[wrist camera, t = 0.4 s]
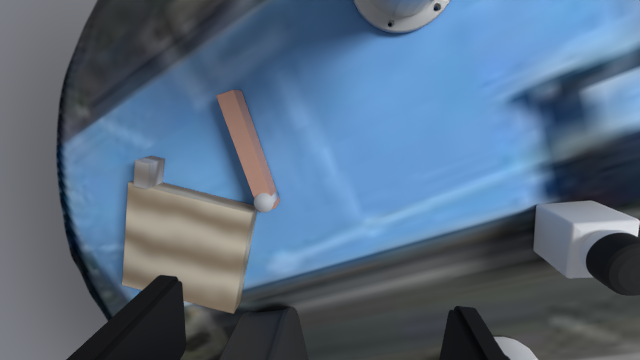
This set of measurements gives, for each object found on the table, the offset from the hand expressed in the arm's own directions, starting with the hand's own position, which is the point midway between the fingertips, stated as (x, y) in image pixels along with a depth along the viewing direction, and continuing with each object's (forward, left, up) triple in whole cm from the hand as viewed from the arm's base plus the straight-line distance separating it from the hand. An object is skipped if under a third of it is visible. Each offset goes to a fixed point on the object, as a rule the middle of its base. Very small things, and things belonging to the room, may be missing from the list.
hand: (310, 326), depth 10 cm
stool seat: (+17, -19, -33) cm, 41 cm away
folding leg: (+2, -12, -32) cm, 34 cm away
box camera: (+2, +32, -33) cm, 46 cm away
